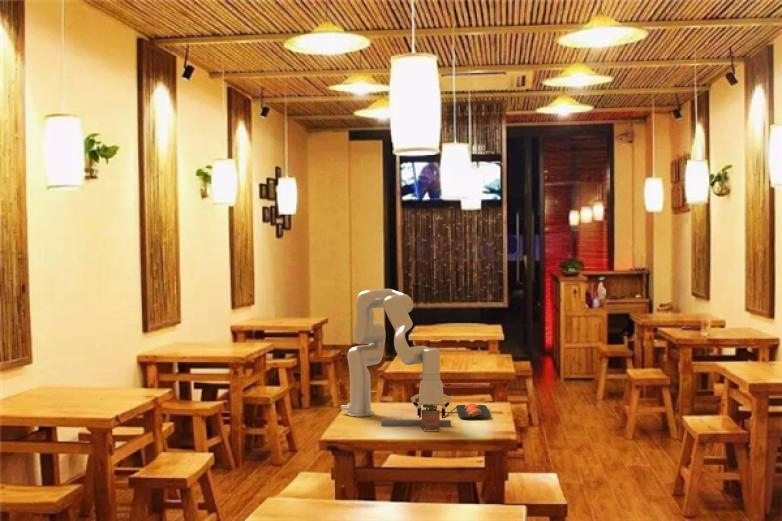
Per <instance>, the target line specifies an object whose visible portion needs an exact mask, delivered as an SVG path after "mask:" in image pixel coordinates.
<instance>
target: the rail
mask: <svg viewBox="0 0 782 521" xmlns="http://www.w3.org/2000/svg"><path fill="white" fill-rule="evenodd" d="M380 424H381V427H392V426H393V427H422V418H419V419H418V418H417V419H415V418H414V419H413V418H411V419H409V418H408V419H407V418H406V419H405V418H404V419H403V418H402V417H398V418H394V419H393V418H381V422H380ZM451 426H452V419H442V420H441V419H440V427H451Z"/></svg>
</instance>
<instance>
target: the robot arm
mask: <svg viewBox="0 0 782 521" xmlns="http://www.w3.org/2000/svg"><path fill="white" fill-rule="evenodd" d="M382 308H383V309H384V311H385V313H386V316H387V318H388V320H389V322H390V324H391V325H392V327H393V329H394V335H393V337H394V338H393V346H394V350H395V352H396V355H397V356H398V358H399V360H400V361H401V362H402V363H403V364H404V365H406V366H412V365H413V366H415V365H419V364H421V365H422V371H421V374H418V378H419V379H420V382H419V391H418V392H419V393H418V394H415V395H413V396H411V397H410V401H411V402H412V404H413V406H414V407H415V408H416V410H417V416H418V418H419V419H422V412H421V410H422V408H421V407H422V406H423V405H436V406H441V412H442V413H441V419H442V418H444V416H446V413H445V412H446V408H447V407H448V406H450V403H451V402H452V397H450V396H448V395H447V394H445V393H444V387H443V381H442V380H441V352H440V350H439V348H436V347H428V346H426V345H417V346H409V344H408V341H407V339H406V333H407V332H408V331H409V330H410V329H411V328H412V327H413V324H414V323H413V321H412V319H411V316H410V315H409V313H410V312H412V311H413V308H414V302H413V299H412V298H411V297H410V296H409V295H408V294H406V293H403V292H400V291H397V290H395V289H393V288H380V289H379V288H375V289H367V290H363V291H361V292H359V293H358V295H357V297H356V300H355V319H354V324H353V325H354V328H353V334H352V336H353V337H352V338H353V340H354V342H355V343H356V344H361V345H357V346H354V347H351V348H350V349H349V350H348V352H347V356H346V358H347V362H348V368H349V370H348V371H349V400H350V401H349V404H347V405H343V404H342V405H340V410H343V411H346V415H347V416H349V417H354V416H355V417H356V418H357V417H358V418H359V417H360V418H362V417H369V416H371V417H372V416H373V415H375V411H374V410H372V409H371V408H372V405H371V401H372V400H371V395H372V394H371V391H372V390H371V373H370V371H369V369H368V367H369V366H374V365H377V364H379V363H381V361H382V359H383V357H384V351H385V344H386V342H385V341H386V329H385V326H384V325H383V324H382V323H381V322H379V321H374V320H375V313H374V310H373V309H382ZM416 399H418V402H417V401H416ZM444 399H446V400H447V402H445V403H444ZM444 419H445V418H444Z"/></svg>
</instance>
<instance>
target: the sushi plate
mask: <svg viewBox="0 0 782 521" xmlns="http://www.w3.org/2000/svg"><path fill="white" fill-rule="evenodd" d="M454 410H456V412H455V411H454ZM453 411H454V412H453ZM439 414H442V411H440V413H439ZM450 414H457V416H458V417H459V418H462V419H466V420H467V419H468V420H481V419H489V418H491V416H492V415H491V413H490V411H489V408H488V407H487V405H485V404H476V403H467V404H457V405H456V406H455V407H454V408H453V409H451V410H450V411H445V416H444V419H445V418H447V417H448V416H450ZM446 416H447V417H446Z"/></svg>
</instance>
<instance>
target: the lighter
mask: <svg viewBox="0 0 782 521" xmlns="http://www.w3.org/2000/svg"><path fill="white" fill-rule="evenodd" d="M422 408H424V409H421V419H422V426H421V428H422V429H424V428H426V429H439V430H440V429H441V426H440V420H441V418H440V414H441V413H440V412H441V410H439V409H438V405H422Z"/></svg>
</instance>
